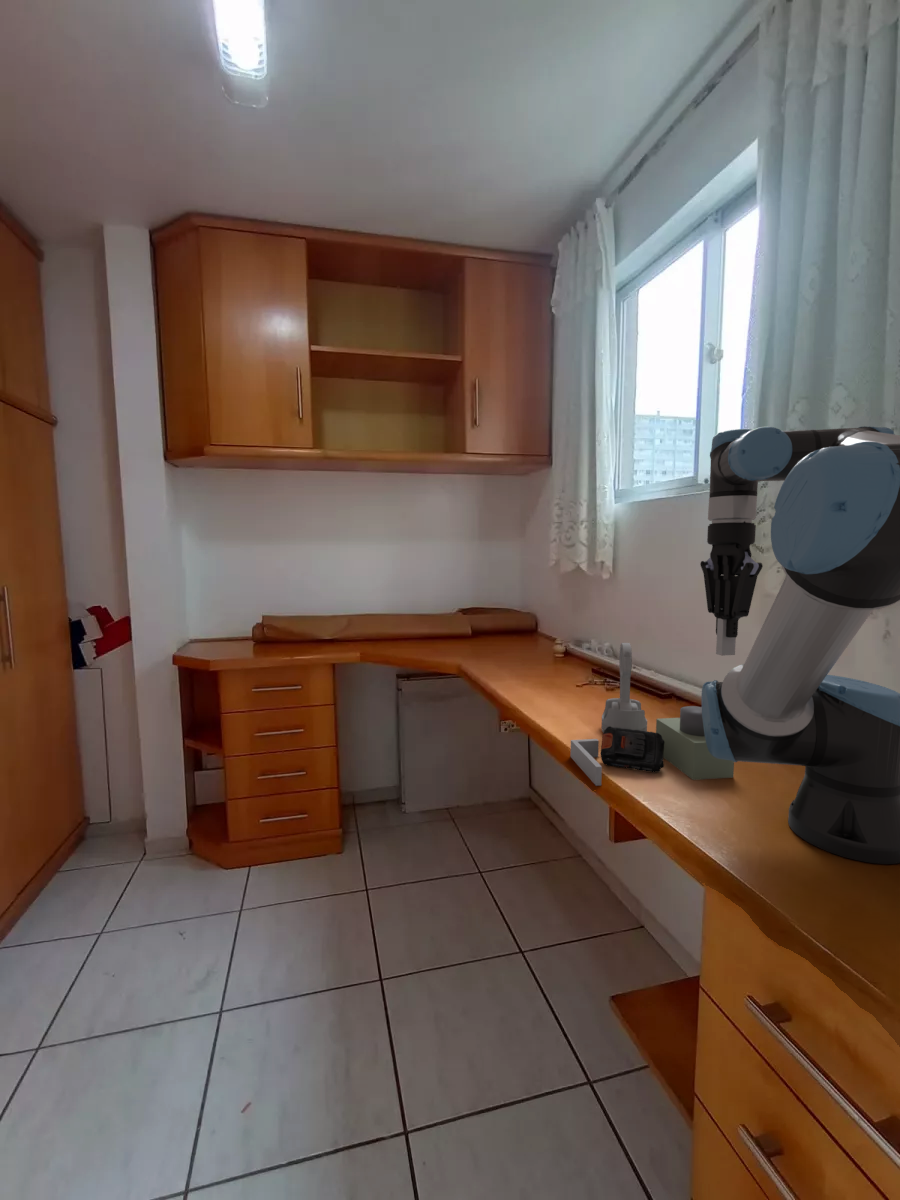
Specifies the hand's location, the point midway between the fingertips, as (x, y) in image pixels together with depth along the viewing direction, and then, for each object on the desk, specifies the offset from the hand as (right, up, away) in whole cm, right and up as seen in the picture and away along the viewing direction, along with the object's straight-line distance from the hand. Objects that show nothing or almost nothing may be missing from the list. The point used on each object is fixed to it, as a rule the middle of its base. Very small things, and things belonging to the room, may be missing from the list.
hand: (725, 654), depth 99 cm
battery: (-14, -23, +8) cm, 28 cm away
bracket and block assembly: (-11, -23, +8) cm, 26 cm away
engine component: (-9, -21, +29) cm, 36 cm away
